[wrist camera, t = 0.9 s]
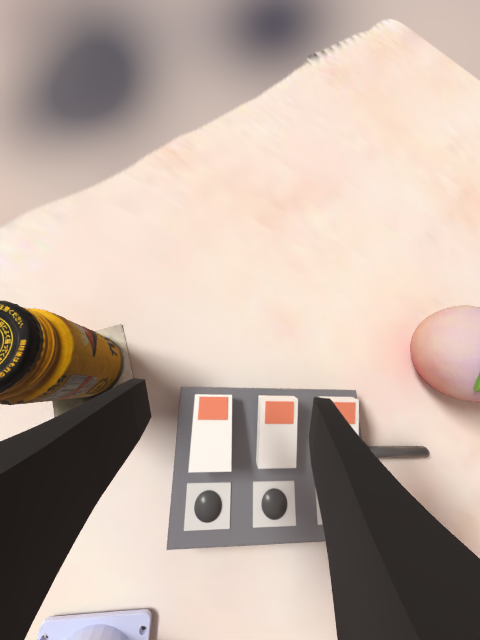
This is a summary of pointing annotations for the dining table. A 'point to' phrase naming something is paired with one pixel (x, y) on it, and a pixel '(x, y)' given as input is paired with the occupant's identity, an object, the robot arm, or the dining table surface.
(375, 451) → the rocker switch panel
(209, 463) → the rocker near arm
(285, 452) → the rocker middle
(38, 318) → the condiment
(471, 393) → the decorative fruit
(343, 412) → the rocker near camera
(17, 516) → the robot arm
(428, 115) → the dining table surface
